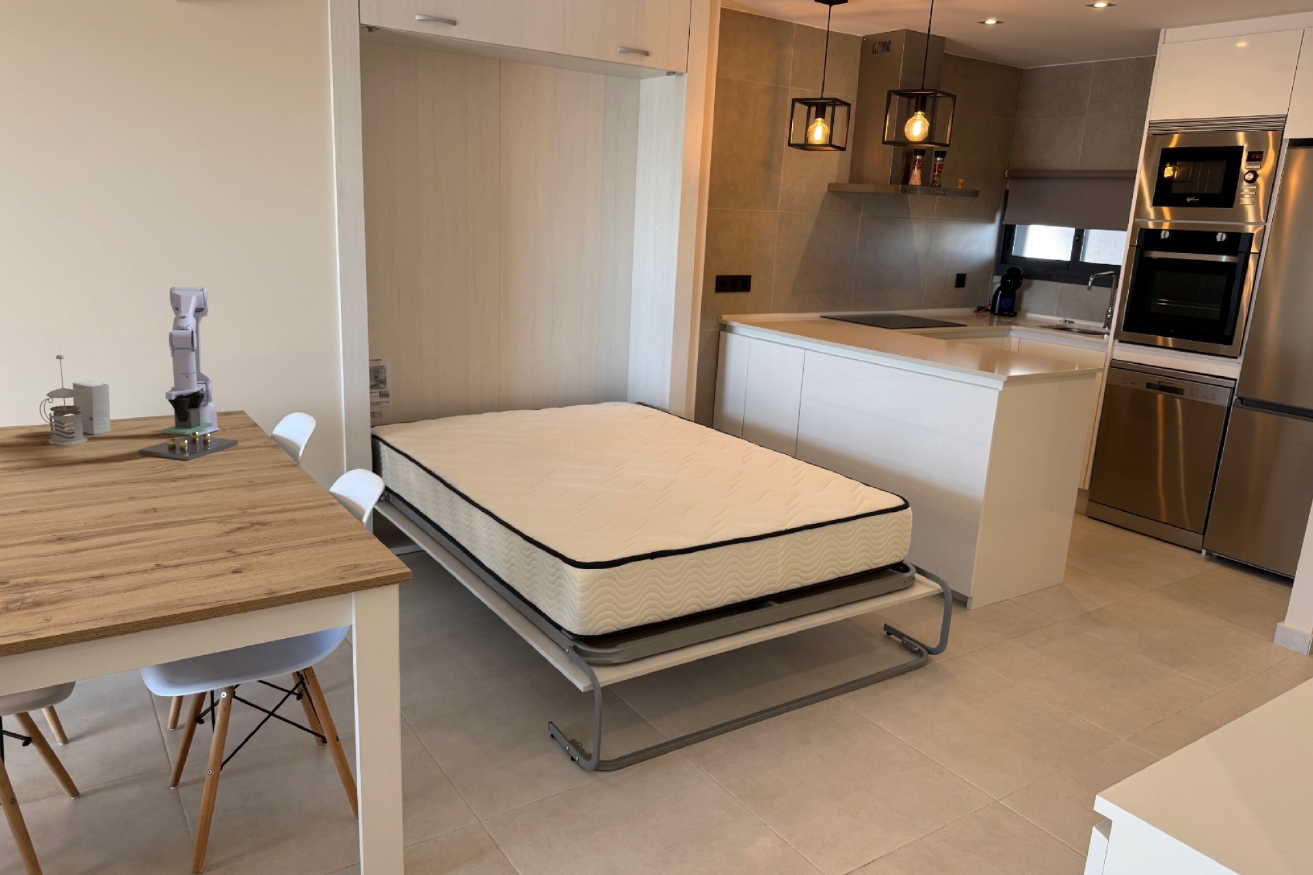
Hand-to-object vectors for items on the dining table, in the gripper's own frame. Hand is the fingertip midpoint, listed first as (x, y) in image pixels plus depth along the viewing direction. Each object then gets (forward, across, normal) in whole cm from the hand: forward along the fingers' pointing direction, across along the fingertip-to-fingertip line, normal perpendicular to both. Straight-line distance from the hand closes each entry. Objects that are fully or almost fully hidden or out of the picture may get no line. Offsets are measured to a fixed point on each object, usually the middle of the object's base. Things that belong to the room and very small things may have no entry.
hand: (187, 420), depth 255 cm
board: (+3, 0, 0) cm, 3 cm away
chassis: (+8, 0, 0) cm, 8 cm away
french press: (+9, +4, -36) cm, 38 cm away
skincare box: (+9, -8, -37) cm, 39 cm away
